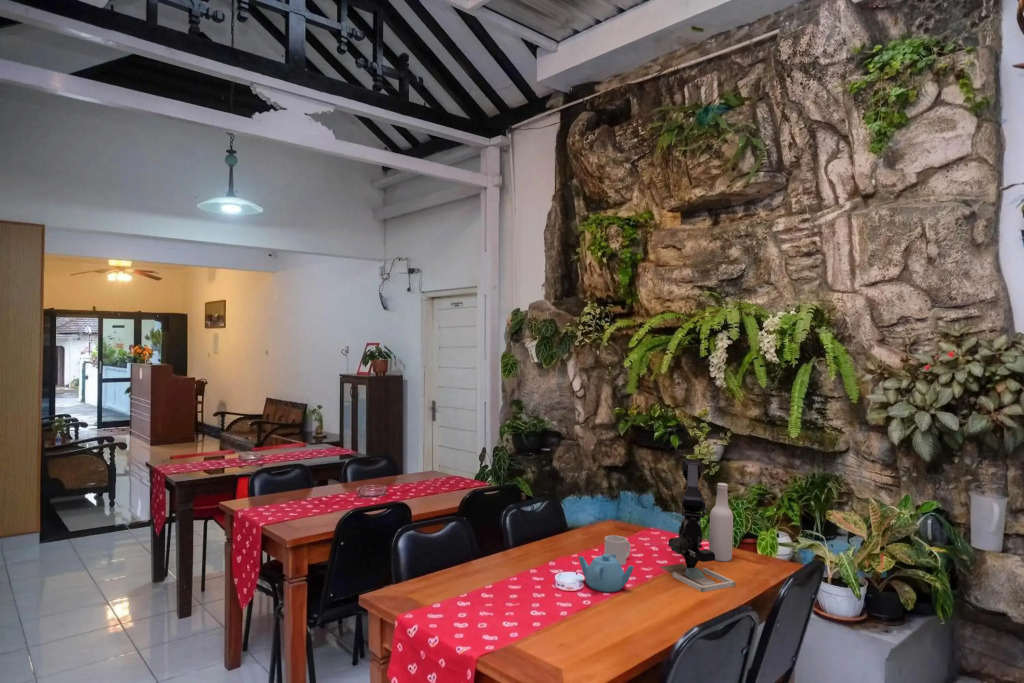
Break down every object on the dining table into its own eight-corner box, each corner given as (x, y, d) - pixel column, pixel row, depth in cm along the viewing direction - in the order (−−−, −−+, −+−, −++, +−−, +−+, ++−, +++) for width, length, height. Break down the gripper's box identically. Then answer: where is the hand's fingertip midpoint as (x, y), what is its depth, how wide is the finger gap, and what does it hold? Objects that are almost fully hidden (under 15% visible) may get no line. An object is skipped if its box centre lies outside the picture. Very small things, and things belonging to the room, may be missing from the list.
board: (658, 570, 233) (659, 566, 233) (681, 567, 238) (681, 563, 238) (678, 581, 223) (678, 577, 223) (702, 577, 228) (702, 573, 228)
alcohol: (709, 560, 248) (711, 484, 248) (708, 553, 256) (711, 480, 256) (732, 563, 245) (734, 487, 246) (731, 556, 254) (733, 482, 254)
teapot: (575, 579, 222) (576, 549, 222) (613, 576, 226) (614, 546, 227) (594, 596, 207) (595, 563, 207) (634, 592, 212) (635, 560, 212)
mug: (622, 559, 245) (623, 532, 246) (637, 565, 239) (638, 538, 239) (599, 564, 239) (600, 537, 239) (614, 570, 232) (615, 543, 232)
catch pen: (672, 581, 223) (672, 572, 224) (704, 575, 230) (704, 567, 230) (702, 596, 210) (702, 587, 210) (735, 590, 216) (735, 581, 217)
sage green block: (684, 573, 225) (686, 568, 224) (695, 572, 227) (698, 567, 226) (692, 584, 221) (694, 579, 220) (703, 582, 223) (705, 577, 222)
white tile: (694, 586, 220) (694, 579, 220) (706, 584, 222) (706, 577, 222) (704, 591, 215) (704, 584, 215) (715, 589, 217) (715, 582, 217)
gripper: (657, 524, 231) (656, 566, 231) (692, 540, 214) (690, 585, 214) (681, 521, 236) (679, 562, 236) (717, 536, 219) (715, 580, 219)
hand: (690, 572), depth 226 cm, fingers closed
